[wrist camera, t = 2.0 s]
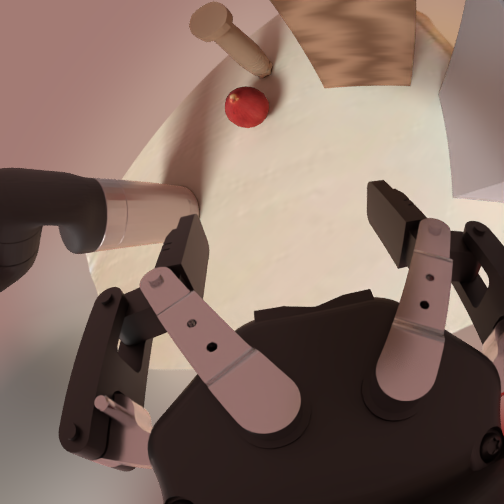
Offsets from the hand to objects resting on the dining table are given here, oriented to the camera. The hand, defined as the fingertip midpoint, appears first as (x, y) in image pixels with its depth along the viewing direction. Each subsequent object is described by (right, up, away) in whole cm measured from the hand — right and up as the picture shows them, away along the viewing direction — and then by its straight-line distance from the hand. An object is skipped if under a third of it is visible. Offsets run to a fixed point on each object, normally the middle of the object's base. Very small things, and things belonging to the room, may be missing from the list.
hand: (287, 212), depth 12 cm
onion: (-1, +18, +24) cm, 30 cm away
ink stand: (+26, +12, +11) cm, 31 cm away
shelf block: (+14, +27, +15) cm, 33 cm away
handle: (0, +26, +22) cm, 34 cm away
